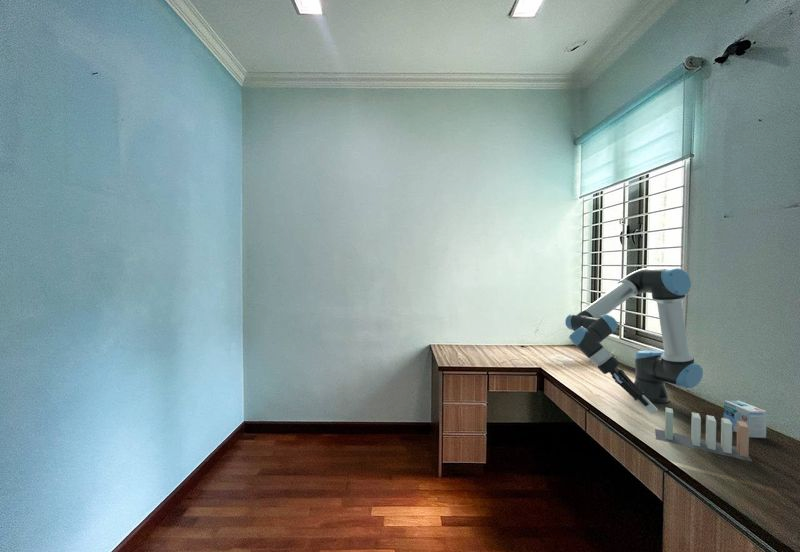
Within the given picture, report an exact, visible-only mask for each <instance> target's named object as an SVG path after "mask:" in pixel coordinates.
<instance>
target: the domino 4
mask: <svg viewBox="0 0 800 552" xmlns="http://www.w3.org/2000/svg"><path fill="white" fill-rule="evenodd" d="M720 419H721V420H720V443H721V447H722V450H723V452H726V453H730V454H732V446H733V431H732V423H731V421H730V420H729V419H726V418H723V417H721V418H720Z"/></svg>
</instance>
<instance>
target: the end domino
mask: <svg viewBox="0 0 800 552" xmlns="http://www.w3.org/2000/svg"><path fill="white" fill-rule="evenodd" d="M749 441H750V437H749V427H748V425H747V424H746V423H745V422H742V421H737V432H736V447H737V451H738V453H739V455H740V456H743V457H748V455H749V454H750V453H749V449H750V448H749V446H750V445H749V444H750V442H749Z"/></svg>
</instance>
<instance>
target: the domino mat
mask: <svg viewBox="0 0 800 552" xmlns="http://www.w3.org/2000/svg"><path fill="white" fill-rule="evenodd" d="M654 433H655V439H656V440H658V441H662V442H666V443H669V444H675V445H679V446H683V447H687V448H692V449H697V450H702V451H705V452H709V453H713V454H719V455H722V456H726V457H730V458H736V459H739V460H744V461H748V462H753V460H752V457H751V456H750V455H749V454H748V457H743V456H740V455H739V453H738V451H737V445H736V446H735V445H732V454H730V453H726V452H723V450H722V447H721V442H717V441H716V450H713V449H708V447H707V445H706V439H705V438H704V439H703V438H700V446H695V445H693V444H692V441H691V435H690V436H689V435H686V434H681V433H676V432H673V440H669V439H666V437H665V430H662V429H658V428H655V429H654Z"/></svg>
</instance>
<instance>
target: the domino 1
mask: <svg viewBox="0 0 800 552" xmlns="http://www.w3.org/2000/svg"><path fill="white" fill-rule="evenodd" d="M664 410H665V414H664V415H665V417H664V418H665V419H664V420H665V421H664V422H665V423H664V426H665V427H664V431H665V437H666V439H669V440H673V433H674V410H673V408H671V407H667V406H666V407H665V409H664Z"/></svg>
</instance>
